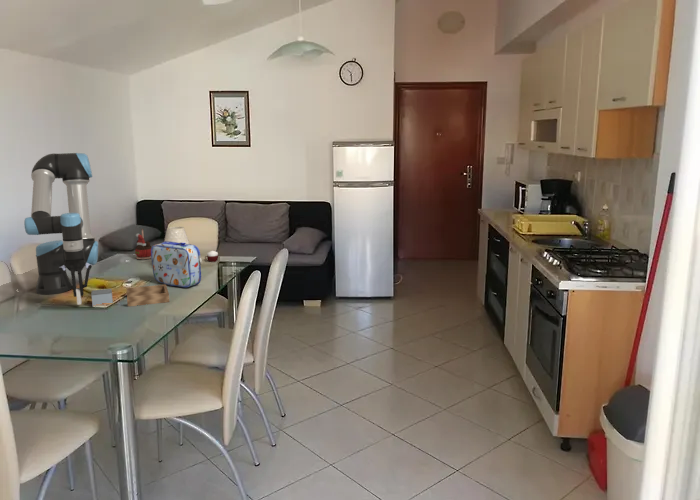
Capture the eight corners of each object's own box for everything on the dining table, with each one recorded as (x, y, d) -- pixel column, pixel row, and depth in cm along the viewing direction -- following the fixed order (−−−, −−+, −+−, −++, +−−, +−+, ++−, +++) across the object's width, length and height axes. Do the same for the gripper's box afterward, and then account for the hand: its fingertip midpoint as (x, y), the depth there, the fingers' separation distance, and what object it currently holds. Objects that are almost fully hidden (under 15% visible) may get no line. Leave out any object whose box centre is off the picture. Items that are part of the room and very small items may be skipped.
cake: (156, 258, 338) (154, 228, 334) (143, 261, 330) (141, 230, 327) (145, 256, 344) (142, 227, 340) (132, 259, 336) (129, 229, 332)
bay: (127, 306, 242) (126, 297, 241) (127, 296, 257) (126, 288, 256) (169, 302, 248) (168, 293, 247) (166, 292, 263) (165, 284, 262)
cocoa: (204, 263, 325) (202, 243, 322) (206, 260, 331) (204, 240, 328) (221, 262, 326) (219, 242, 323) (223, 259, 332) (220, 239, 329)
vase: (189, 273, 301) (186, 230, 296) (157, 273, 301) (153, 230, 296) (198, 265, 318) (196, 225, 313) (168, 265, 318) (165, 225, 313)
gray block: (92, 307, 242) (91, 294, 240) (93, 303, 247) (91, 290, 246) (112, 305, 245) (111, 291, 243) (112, 301, 250) (111, 288, 249)
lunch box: (207, 285, 275) (204, 241, 271) (192, 290, 266) (189, 245, 262) (166, 279, 288) (163, 236, 284) (150, 283, 279) (147, 240, 275)
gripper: (55, 252, 232) (61, 307, 236) (90, 250, 236) (95, 304, 241) (57, 249, 238) (63, 302, 243) (91, 247, 243) (96, 299, 248)
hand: (79, 303), depth 242 cm, fingers closed
